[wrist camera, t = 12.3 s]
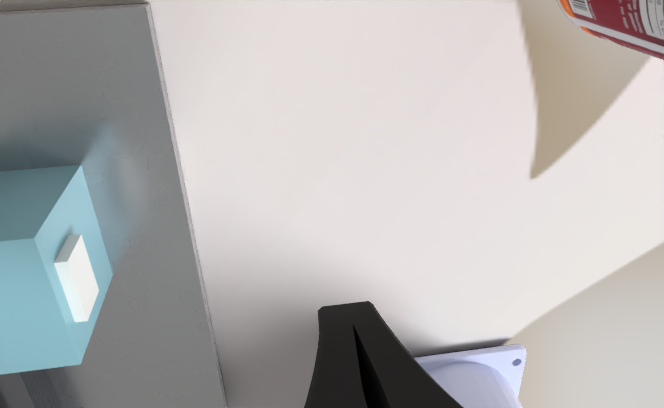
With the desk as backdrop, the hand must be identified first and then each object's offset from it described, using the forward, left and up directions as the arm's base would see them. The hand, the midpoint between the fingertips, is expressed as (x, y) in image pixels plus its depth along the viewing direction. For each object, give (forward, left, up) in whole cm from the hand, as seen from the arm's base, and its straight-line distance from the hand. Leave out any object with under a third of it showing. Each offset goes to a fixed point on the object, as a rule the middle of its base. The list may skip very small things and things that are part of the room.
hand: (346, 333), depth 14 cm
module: (-1, +10, -9) cm, 14 cm away
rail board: (-4, +10, -9) cm, 14 cm away
